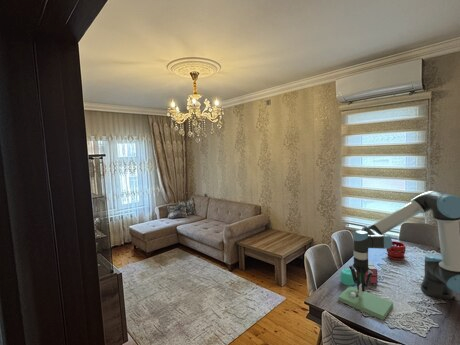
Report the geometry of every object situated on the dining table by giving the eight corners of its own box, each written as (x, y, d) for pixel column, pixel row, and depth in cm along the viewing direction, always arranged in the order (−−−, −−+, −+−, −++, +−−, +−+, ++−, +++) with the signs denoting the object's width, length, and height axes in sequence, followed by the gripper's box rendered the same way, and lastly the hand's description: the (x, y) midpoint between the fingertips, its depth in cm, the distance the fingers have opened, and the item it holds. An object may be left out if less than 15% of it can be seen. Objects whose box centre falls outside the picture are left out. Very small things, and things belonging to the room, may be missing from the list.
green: (392, 306, 135) (393, 282, 134) (383, 320, 125) (383, 294, 124) (349, 289, 153) (349, 268, 152) (338, 300, 143) (337, 277, 142)
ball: (356, 292, 145) (350, 292, 147) (354, 292, 143) (348, 291, 145) (357, 298, 143) (351, 298, 146) (355, 298, 141) (349, 298, 143)
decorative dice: (343, 278, 166) (343, 267, 166) (355, 281, 161) (355, 270, 161) (340, 283, 160) (340, 272, 160) (353, 287, 155) (353, 275, 155)
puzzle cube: (377, 283, 158) (377, 269, 157) (361, 282, 160) (361, 268, 159) (371, 275, 168) (371, 262, 167) (356, 275, 170) (356, 261, 169)
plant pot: (404, 256, 194) (404, 242, 193) (406, 262, 183) (406, 247, 182) (385, 253, 201) (385, 239, 200) (385, 259, 190) (385, 245, 189)
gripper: (375, 258, 136) (375, 297, 138) (352, 252, 146) (352, 288, 148) (370, 263, 131) (370, 303, 133) (346, 256, 141) (347, 293, 143)
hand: (361, 295), depth 140 cm, fingers closed
